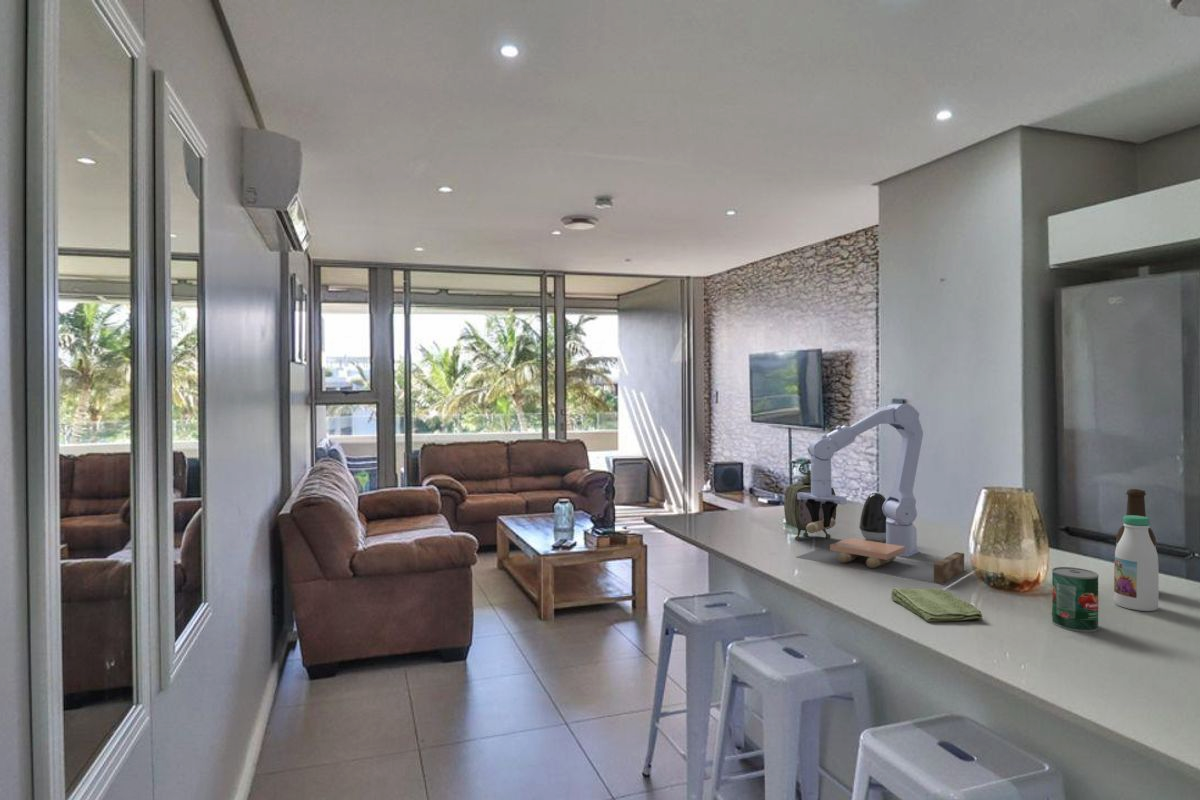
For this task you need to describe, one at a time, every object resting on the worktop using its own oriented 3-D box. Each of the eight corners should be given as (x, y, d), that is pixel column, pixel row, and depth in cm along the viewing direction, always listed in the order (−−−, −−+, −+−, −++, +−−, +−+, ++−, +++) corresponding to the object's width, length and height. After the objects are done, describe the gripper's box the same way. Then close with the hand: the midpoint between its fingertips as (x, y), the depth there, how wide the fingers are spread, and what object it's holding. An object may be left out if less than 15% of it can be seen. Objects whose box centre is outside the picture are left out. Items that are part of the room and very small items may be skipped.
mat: (825, 547, 210) (825, 546, 210) (967, 571, 181) (967, 570, 181) (795, 558, 197) (795, 557, 197) (943, 586, 168) (943, 584, 168)
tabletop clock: (794, 542, 216) (794, 463, 216) (781, 536, 225) (781, 460, 225) (836, 540, 219) (836, 462, 219) (821, 534, 228) (821, 459, 228)
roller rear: (857, 554, 199) (857, 544, 199) (868, 556, 197) (867, 545, 197) (836, 563, 190) (836, 552, 190) (846, 565, 188) (846, 554, 188)
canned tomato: (1100, 634, 135) (1100, 579, 135) (1052, 627, 139) (1052, 574, 139) (1096, 622, 142) (1096, 570, 142) (1051, 616, 146) (1051, 565, 146)
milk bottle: (1149, 602, 154) (1149, 514, 154) (1164, 613, 147) (1165, 520, 147) (1108, 599, 157) (1109, 512, 156) (1122, 610, 149) (1122, 519, 149)
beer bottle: (1150, 587, 166) (1151, 488, 165) (1161, 596, 159) (1161, 493, 158) (1111, 583, 169) (1111, 486, 169) (1120, 592, 162) (1120, 491, 161)
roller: (826, 525, 206) (826, 516, 206) (835, 527, 204) (835, 518, 204) (804, 533, 197) (804, 523, 196) (813, 534, 195) (813, 524, 194)
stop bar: (956, 570, 182) (956, 552, 182) (964, 572, 181) (964, 553, 181) (933, 583, 171) (933, 563, 171) (942, 585, 169) (942, 565, 169)
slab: (849, 542, 201) (849, 537, 201) (905, 551, 190) (905, 546, 190) (830, 550, 192) (830, 544, 192) (887, 559, 181) (887, 554, 181)
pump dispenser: (887, 536, 223) (887, 490, 223) (898, 544, 213) (898, 495, 213) (855, 536, 224) (855, 490, 224) (864, 543, 214) (864, 495, 214)
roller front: (885, 559, 194) (885, 548, 193) (896, 560, 191) (896, 550, 191) (864, 568, 184) (864, 557, 184) (875, 570, 182) (875, 559, 182)
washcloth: (927, 626, 142) (927, 610, 142) (886, 599, 160) (886, 586, 160) (988, 624, 143) (988, 608, 143) (941, 598, 161) (941, 584, 161)
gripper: (791, 479, 203) (792, 524, 203) (838, 483, 192) (838, 531, 193) (803, 476, 208) (804, 521, 208) (849, 481, 197) (849, 528, 198)
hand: (821, 526), depth 201 cm, fingers closed on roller, 3 cm apart
